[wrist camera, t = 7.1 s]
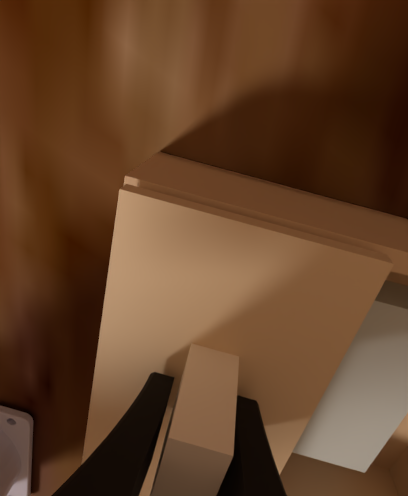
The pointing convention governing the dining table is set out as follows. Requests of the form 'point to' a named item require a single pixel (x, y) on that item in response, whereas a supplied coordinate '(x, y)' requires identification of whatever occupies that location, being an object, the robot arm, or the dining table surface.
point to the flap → (221, 330)
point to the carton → (360, 350)
